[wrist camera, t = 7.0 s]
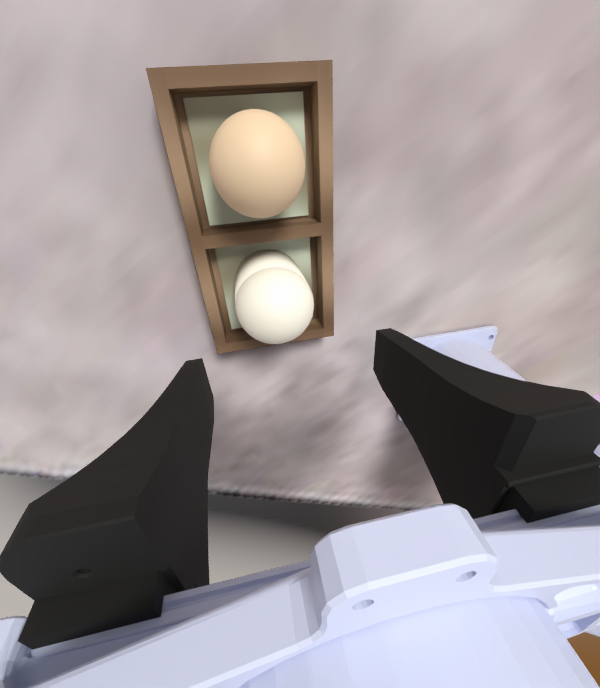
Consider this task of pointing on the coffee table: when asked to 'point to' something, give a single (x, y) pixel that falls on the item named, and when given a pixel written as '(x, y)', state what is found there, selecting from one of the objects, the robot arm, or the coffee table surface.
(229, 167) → the brown egg
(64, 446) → the coffee table surface
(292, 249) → the egg crate
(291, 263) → the cream egg
